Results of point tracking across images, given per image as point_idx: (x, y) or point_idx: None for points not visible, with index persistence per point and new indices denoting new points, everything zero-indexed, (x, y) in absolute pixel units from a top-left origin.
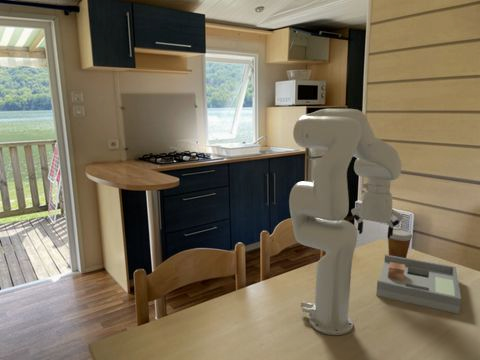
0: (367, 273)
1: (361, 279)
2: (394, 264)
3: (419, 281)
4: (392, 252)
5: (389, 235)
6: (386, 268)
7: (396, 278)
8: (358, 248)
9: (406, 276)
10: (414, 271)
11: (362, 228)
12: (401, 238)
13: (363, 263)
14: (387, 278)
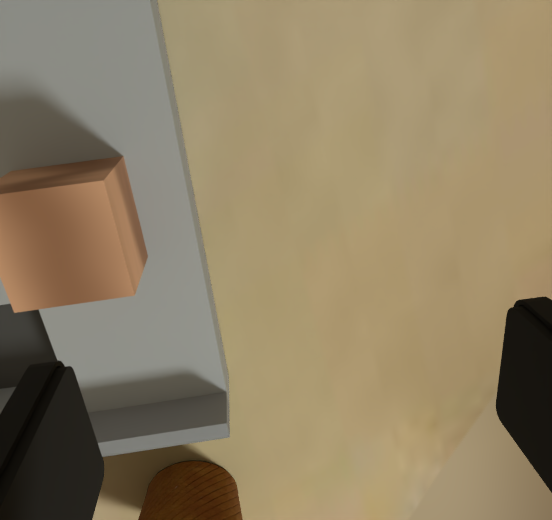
0: (293, 230)
1: (306, 115)
2: (85, 267)
3: None
4: (209, 507)
5: (14, 397)
6: (182, 301)
7: (57, 165)
8: (415, 504)
9: None
10: None
11: (531, 435)
12: None
13: (349, 349)
14: (120, 141)
